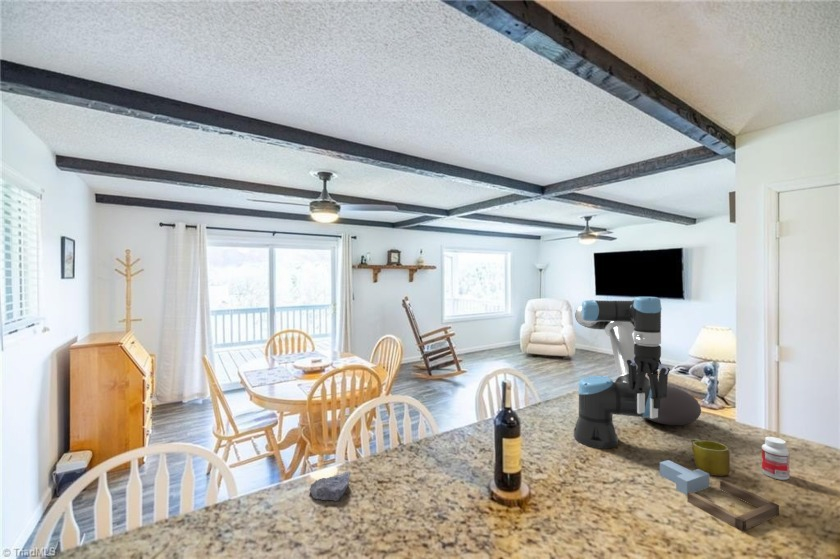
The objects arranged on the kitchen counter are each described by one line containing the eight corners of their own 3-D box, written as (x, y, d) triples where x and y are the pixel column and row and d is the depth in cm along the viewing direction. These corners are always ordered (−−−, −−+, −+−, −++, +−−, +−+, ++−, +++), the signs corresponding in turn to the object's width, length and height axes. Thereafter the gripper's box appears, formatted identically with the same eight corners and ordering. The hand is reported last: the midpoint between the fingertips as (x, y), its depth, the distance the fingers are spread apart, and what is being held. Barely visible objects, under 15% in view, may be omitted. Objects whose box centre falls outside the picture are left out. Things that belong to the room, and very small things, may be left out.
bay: (687, 501, 101) (687, 492, 101) (723, 488, 107) (723, 479, 107) (742, 531, 89) (742, 521, 89) (779, 514, 95) (779, 505, 95)
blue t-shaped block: (653, 477, 113) (653, 464, 113) (674, 470, 117) (674, 458, 117) (687, 495, 104) (687, 481, 104) (709, 487, 108) (709, 473, 108)
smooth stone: (640, 406, 172) (640, 374, 172) (706, 421, 154) (706, 386, 154) (621, 421, 156) (621, 386, 156) (693, 440, 137) (693, 400, 137)
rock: (350, 467, 113) (349, 481, 103) (351, 485, 113) (350, 500, 103) (310, 473, 111) (306, 488, 101) (311, 491, 111) (307, 508, 101)
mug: (746, 476, 110) (730, 441, 112) (709, 483, 112) (694, 449, 114) (724, 463, 121) (710, 432, 124) (691, 470, 123) (678, 439, 126)
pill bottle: (769, 468, 117) (769, 434, 117) (794, 478, 112) (794, 442, 112) (757, 472, 115) (757, 437, 115) (781, 482, 110) (782, 445, 109)
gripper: (616, 340, 126) (616, 408, 126) (665, 350, 110) (665, 426, 111) (632, 339, 129) (632, 405, 129) (681, 347, 113) (681, 422, 114)
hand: (647, 414), depth 120 cm, fingers open, 4 cm apart
